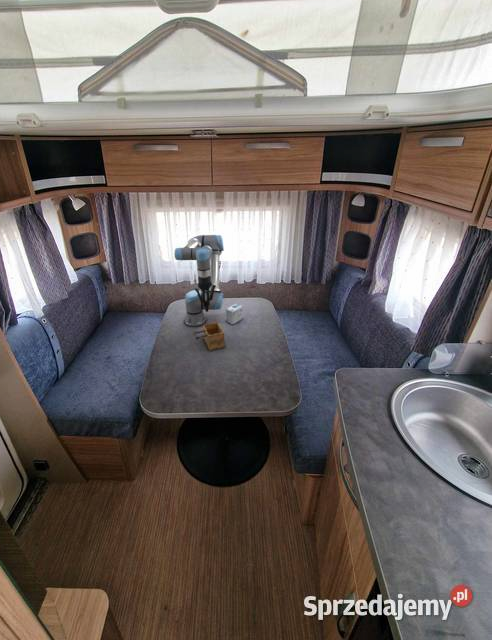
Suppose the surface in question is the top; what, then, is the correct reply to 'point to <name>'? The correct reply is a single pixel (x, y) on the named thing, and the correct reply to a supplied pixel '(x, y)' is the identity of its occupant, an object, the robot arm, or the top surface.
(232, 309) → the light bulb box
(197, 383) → the top surface
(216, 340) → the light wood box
